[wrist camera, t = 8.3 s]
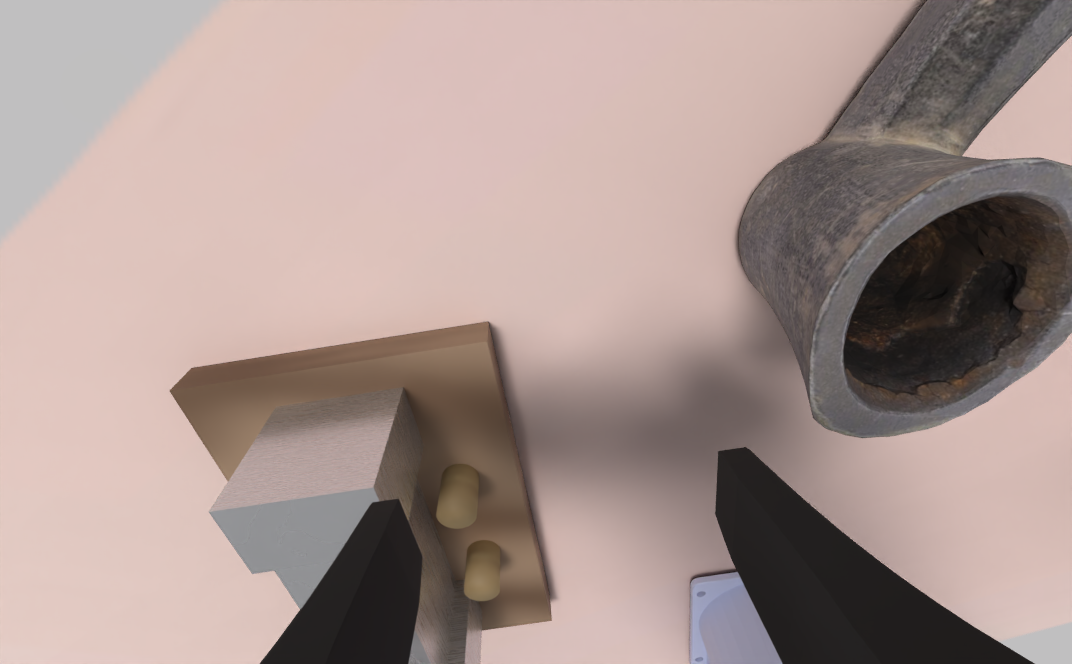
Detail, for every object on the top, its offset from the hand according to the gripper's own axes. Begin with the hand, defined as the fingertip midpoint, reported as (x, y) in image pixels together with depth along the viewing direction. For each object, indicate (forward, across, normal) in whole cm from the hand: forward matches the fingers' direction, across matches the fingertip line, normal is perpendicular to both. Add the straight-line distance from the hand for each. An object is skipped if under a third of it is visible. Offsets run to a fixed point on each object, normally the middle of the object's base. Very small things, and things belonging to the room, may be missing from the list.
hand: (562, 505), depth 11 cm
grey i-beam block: (+8, +8, +9) cm, 14 cm away
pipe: (+10, -11, -4) cm, 15 cm away
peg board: (+9, +8, +9) cm, 15 cm away
